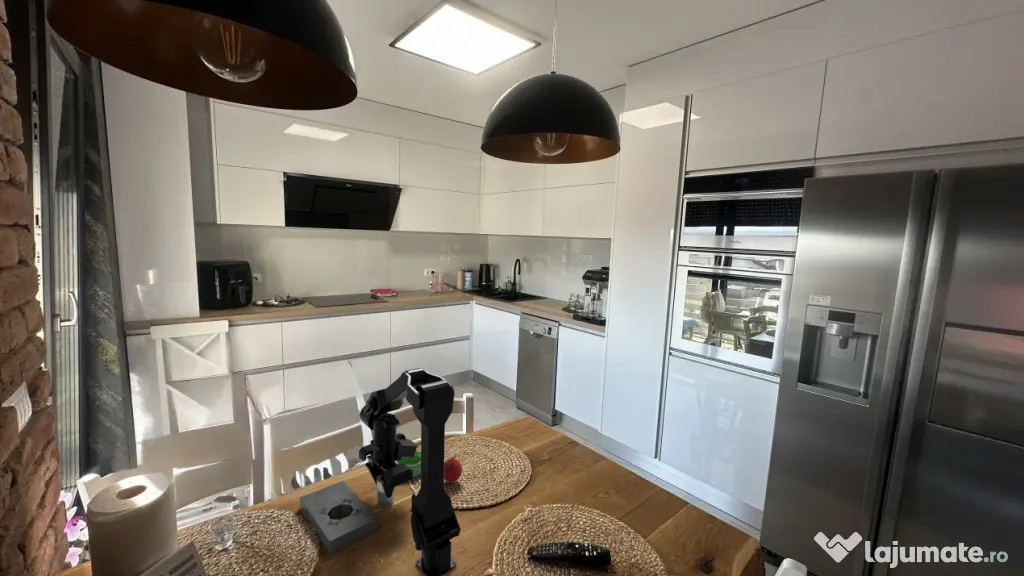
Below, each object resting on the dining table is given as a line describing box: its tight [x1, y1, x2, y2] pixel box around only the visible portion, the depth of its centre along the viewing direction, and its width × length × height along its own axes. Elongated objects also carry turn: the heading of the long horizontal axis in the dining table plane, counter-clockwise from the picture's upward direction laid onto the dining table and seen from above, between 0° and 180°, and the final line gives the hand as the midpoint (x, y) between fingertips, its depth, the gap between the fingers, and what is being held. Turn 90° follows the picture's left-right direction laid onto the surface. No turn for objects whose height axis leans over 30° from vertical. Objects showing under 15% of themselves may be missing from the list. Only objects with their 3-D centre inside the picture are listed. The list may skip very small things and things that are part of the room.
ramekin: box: [395, 449, 421, 478], centre depth 121 cm, size 9×9×4 cm
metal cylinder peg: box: [376, 470, 394, 508], centre depth 106 cm, size 4×4×8 cm
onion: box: [444, 455, 463, 484], centre depth 116 cm, size 6×6×8 cm
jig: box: [299, 480, 378, 555], centre depth 99 cm, size 20×11×3 cm, turn 44°
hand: (384, 493), depth 106 cm, fingers closed on metal cylinder peg, 4 cm apart
